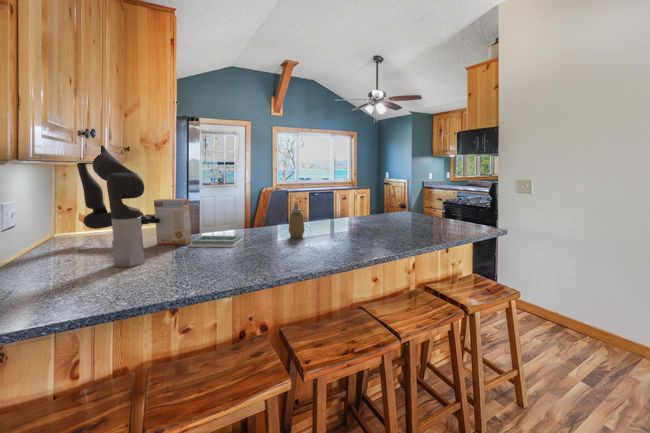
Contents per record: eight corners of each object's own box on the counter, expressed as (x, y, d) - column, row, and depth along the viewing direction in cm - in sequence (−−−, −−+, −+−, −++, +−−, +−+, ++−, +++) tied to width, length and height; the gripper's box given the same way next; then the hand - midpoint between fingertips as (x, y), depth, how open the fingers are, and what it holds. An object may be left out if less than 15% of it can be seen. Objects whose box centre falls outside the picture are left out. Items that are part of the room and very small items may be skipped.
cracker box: (192, 242, 160) (189, 198, 157) (185, 245, 154) (182, 199, 151) (164, 241, 161) (160, 198, 158) (156, 244, 155) (153, 199, 152)
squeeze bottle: (303, 238, 167) (303, 202, 164) (287, 238, 167) (287, 202, 165) (305, 235, 175) (304, 201, 172) (289, 235, 175) (289, 201, 173)
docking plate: (233, 247, 150) (233, 241, 149) (189, 246, 151) (189, 241, 150) (242, 240, 164) (242, 235, 163) (202, 240, 165) (202, 235, 164)
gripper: (119, 213, 149) (155, 213, 148) (138, 209, 163) (171, 209, 162) (121, 229, 150) (156, 230, 149) (140, 224, 164) (172, 224, 163)
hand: (164, 219), depth 156 cm, fingers open, 8 cm apart
